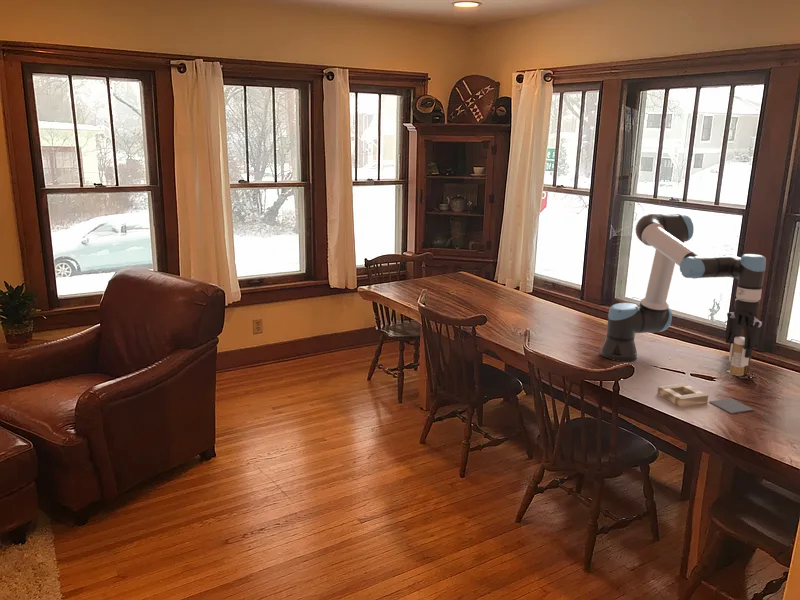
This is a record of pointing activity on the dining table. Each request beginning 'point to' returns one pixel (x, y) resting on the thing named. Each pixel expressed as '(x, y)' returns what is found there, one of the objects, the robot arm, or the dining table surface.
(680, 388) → the frame
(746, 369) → the condiment
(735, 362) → the sprinkles bottle
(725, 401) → the coaster
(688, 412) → the dining table surface
